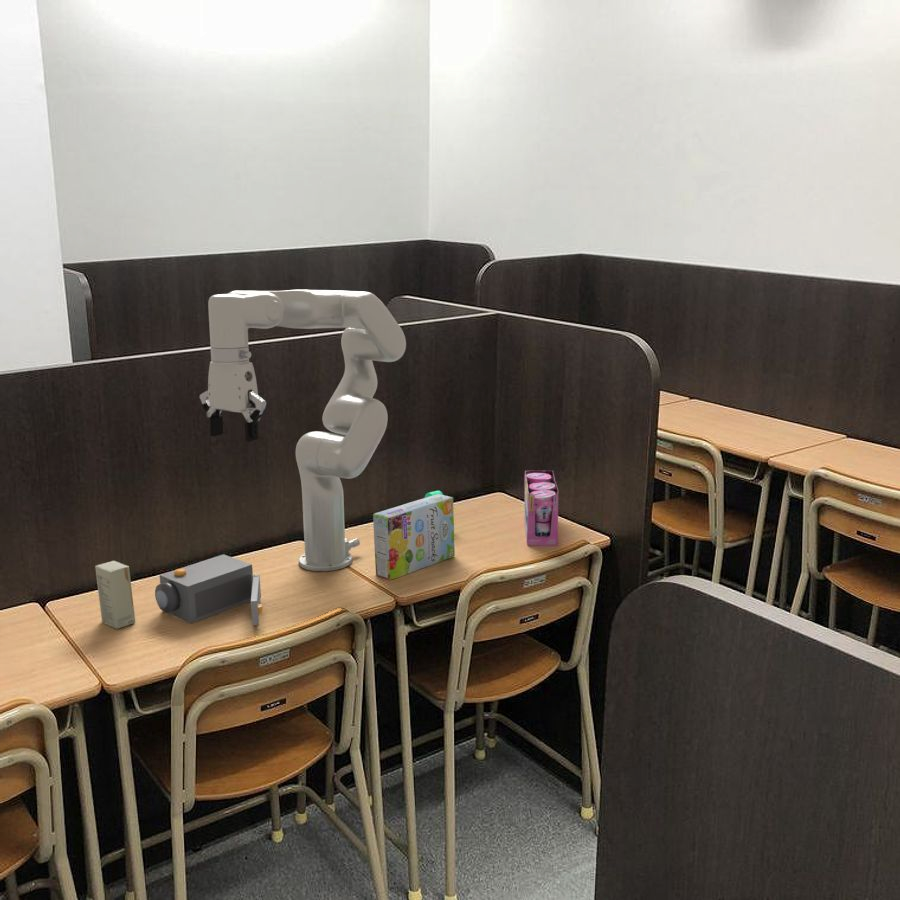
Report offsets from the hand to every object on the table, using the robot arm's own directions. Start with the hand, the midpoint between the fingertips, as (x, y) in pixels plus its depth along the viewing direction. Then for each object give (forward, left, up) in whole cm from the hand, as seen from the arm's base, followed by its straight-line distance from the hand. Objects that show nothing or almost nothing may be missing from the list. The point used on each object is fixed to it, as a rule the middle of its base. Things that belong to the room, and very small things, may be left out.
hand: (234, 437), depth 196 cm
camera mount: (-58, +1, -36) cm, 68 cm away
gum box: (-76, +24, -36) cm, 87 cm away
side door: (+4, +10, -34) cm, 36 cm away
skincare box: (+25, -9, -35) cm, 44 cm away
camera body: (+9, -2, -35) cm, 36 cm away
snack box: (-37, +16, -36) cm, 54 cm away
